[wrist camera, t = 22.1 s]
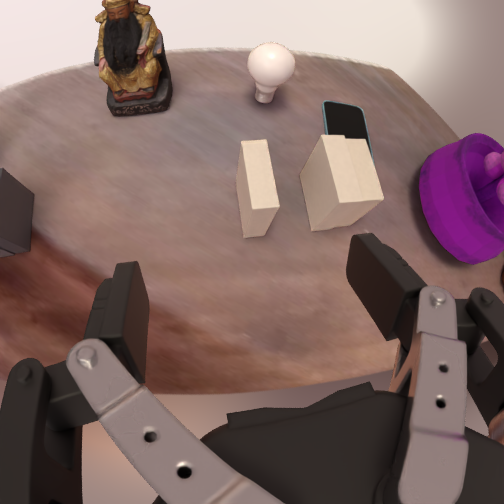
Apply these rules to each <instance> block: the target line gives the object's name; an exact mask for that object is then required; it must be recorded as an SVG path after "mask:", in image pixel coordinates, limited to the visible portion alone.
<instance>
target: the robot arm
mask: <svg viewBox="0 0 504 504" xmlns="http://www.w3.org/2000/svg"><path fill="white" fill-rule="evenodd" d="M346 275H347V279H348V282H349V284H350V285H351V287H352V288H353V290H354V291H355V293H356V294H357V296H358V297H359V299H360V300H361V302H362V303H363V305H364V306H365V308H366V309H367V311H368V313H369V314H370V316H371V317H372V319H373V320H374V322H375V323H376V325H377V327H378V328H379V330H380V331H381V333H382V335H383V336H384V338H385V339H386V341H389V340H393V339H396V338H399V340H400V343H399V345H398V348H397V354H396V359H395V364H394V369H393V374H392V380H391V384H390V388H389V390H388V391H378V390H376V391H374V389H373V387H372V385H371V383H370V382H366V383H363V384H360V385H357V386H353V387H350V388H346V389H343V390H339V391H337V392H335V393H333V394H331V395H329V396H328V397H326V398H324V399H322V400H320V401H319V402H316V403H314V404H312V405H310V406H308V407H306V408H259V409H253V410H247V411H241V412H234V413H228V414H227V419H228V423H227V424H225V425H222V426H220V427H218V428H216V429H214V430H212V431H211V432H209V433H208V434H206V435H205V436H204V437H202V438H201V439H200V440H199V439H198V438H196V436H194V435H193V434H192V433H191V432H190V431H189V430H188V429H187V428H186V427H185V426H184V425H183V424H182V423H181V422H180V421H179V420H178V419H177V418H176V417H175V416H174V415H173V414H172V413H171V412H170V411H169V410H168V409H167V408H166V407H164V405H163V404H162V403H161V402H160V401H159V400H158V399H157V398H156V397H155V396H154V395H153V394H152V393H151V392H150V391H149V389H148V388H147V387H145V386H144V385H139V384H140V383H145V370H146V350H147V335H148V322H149V299H148V295H147V291H146V288H145V284H144V281H143V277H142V273H141V270H140V266H139V264H138V262H137V261H133V262H125V263H118V264H117V265H116V268H115V271H114V275H113V278H109V279H105V280H104V281H103V282H102V284H101V285H100V286H99V287H98V289H97V291H96V295H95V298H94V301H93V305H92V310H91V312H90V315H89V319H88V323H87V326H86V330H85V334H84V338H83V341H80V342H79V343H77V344H76V345H74V346H73V347H72V348H71V350H70V351H69V353H68V355H67V358H66V360H65V361H63V362H60V363H57V364H54V365H51V366H48V367H45V368H44V367H43V365H42V364H41V363H40V361H38V360H37V359H34V358H27V359H23V360H21V361H20V362H18V363H17V364H16V365H15V366H14V367H13V368H12V369H11V371H10V373H9V376H8V380H7V384H6V388H5V391H4V396H3V400H2V405H1V409H0V504H83V500H82V427H83V425H85V424H88V423H91V422H94V421H98V420H99V422H100V423H101V425H102V426H103V427H104V429H105V430H106V432H107V433H108V434H109V436H110V437H111V438H112V440H113V441H114V442H115V444H116V445H117V446H118V448H119V449H120V450H121V452H122V453H123V454H124V455H125V457H126V458H127V459H128V460H129V461H130V463H131V464H132V465H133V466H134V468H135V469H136V470H137V471H138V472H139V473H140V475H141V476H142V477H143V478H144V479H145V480H146V481H147V483H149V485H150V486H151V487H152V488H153V489H154V490H155V491H156V492H157V493H158V494H159V495H158V497H157V498H156V500H155V501H154V502H153V503H152V504H504V304H503V303H502V301H501V300H500V299H499V298H498V297H497V296H496V295H495V294H494V293H493V292H491V291H490V290H488V289H485V288H475V289H473V290H472V292H471V294H470V296H469V298H468V299H454V297H453V296H452V295H451V294H450V293H449V292H448V291H447V290H445V289H443V288H441V287H438V286H428V285H427V284H426V283H425V282H424V281H423V280H422V279H421V278H420V277H419V275H418V274H417V273H416V272H415V271H414V270H413V269H412V268H411V267H410V266H408V263H407V262H406V261H405V260H404V259H402V257H401V256H400V255H399V254H398V253H397V252H396V251H395V250H394V249H392V248H391V247H389V246H387V245H385V244H382V243H381V241H380V240H379V239H378V238H377V237H376V236H375V235H374V234H372V233H366V234H357V235H353V236H352V238H351V243H350V249H349V255H348V261H347V266H346ZM485 336H486V337H487V338H488V340H489V341H490V343H491V344H492V345H493V347H494V348H495V350H496V351H497V353H498V362H497V364H496V366H495V367H494V366H493V365H492V363H491V362H490V360H489V359H488V357H487V356H486V354H485V353H484V351H483V350H482V348H481V347H480V343H481V342H482V340H483V339H484V337H485ZM467 389H468V391H469V393H470V395H471V396H472V398H473V400H474V402H475V404H476V405H477V407H478V409H479V411H480V413H481V415H482V417H483V418H484V420H485V422H486V424H487V426H488V428H489V435H488V436H484V435H482V434H480V433H478V432H476V431H474V430H472V429H470V428H468V427H466V426H465V416H466V395H467Z"/></svg>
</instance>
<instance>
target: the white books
mask: <svg viewBox="0 0 504 504" xmlns="http://www.w3.org/2000/svg"><path fill="white" fill-rule="evenodd" d="M299 176H300V180H301V185H302V189H303V194H304V198H305V203H306V208H307V213H308V217H309V222H310V227H311V231H320V230H329V229H332V228H333V227H343V226H351V225H352V224H353V223H354V222H356V221H357V220H358V219H360V218H361V217H362V216H363V215H365V214H366V213H367V212H369V211H370V210H371V209H372V208H374V207H375V206H376V205H378V204H379V203H380V202H381V201H383V200H384V197H383V193H382V190H381V186H380V183H379V180H378V176H377V173H376V170H375V167H374V163H373V160H372V157H371V154H370V151H369V148H368V145H367V142H366V140H365V139H345V136H344V135H321V136H320V138H319V140H318V142H317V144H316V146H315V147H314V149H313V151H312V153H311V155H310V157H309V158H308V160H307V162H306V164H305V166H304V168H303V169H302V171H301V173H300V175H299Z"/></svg>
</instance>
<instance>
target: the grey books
mask: <svg viewBox="0 0 504 504" xmlns="http://www.w3.org/2000/svg"><path fill="white" fill-rule="evenodd" d="M33 200H34V194H33V193H32V192H31V191H30V190H28V189H27V188H26V187H25V186H24V185H22V184H21V183H20V182H19V181H18V180H16V179H15V178H14V177H13V176H12V175H10V174H9V173H8V172H7V171H6V170H5V169H4V168H0V257H7V256H12V255H15V253H22V252H28V251H30V241H31V223H32V210H33Z"/></svg>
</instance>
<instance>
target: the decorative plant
mask: <svg viewBox="0 0 504 504" xmlns="http://www.w3.org/2000/svg"><path fill="white" fill-rule="evenodd" d="M419 191H420V198H421V204H422V210H423V213H424V216H425V218H426V220H427V223H428V225H429V228H430V230H431V231H432V233H433V234H434V235H435V237H436V238H437V240H438V241H439V243H440V244H441V245H442V246H443V247H444V248H445V249H446V250H447V251H448V252H450V253H451V254H452V255H453V256H454V257H456V258H457V259H458V260H460V261H463V262H466V263H469V264H473V265H474V264H477V263H481V262H484V261H487V260H489V259H492V258H494V257H496V256H497V255H499V254H500V253H501V252H502V251H503V250H504V148H503V147H502V146H501V145H500V144H499V143H498V142H496V141H495V140H494V139H492V138H491V137H489V136H487V135H484V134H480V133H474V134H471V135H468V136H466V137H464V138H463V139H461V140H459V141H458V142H455V143H452V144H448V145H446V146H444V147H442V148H440V149H438V150H436V151H435V152H434V153H432V154H431V155H429V156H428V157H427V159H426V161H425V163H424V164H423V166H422V168H421V172H420V181H419Z"/></svg>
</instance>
